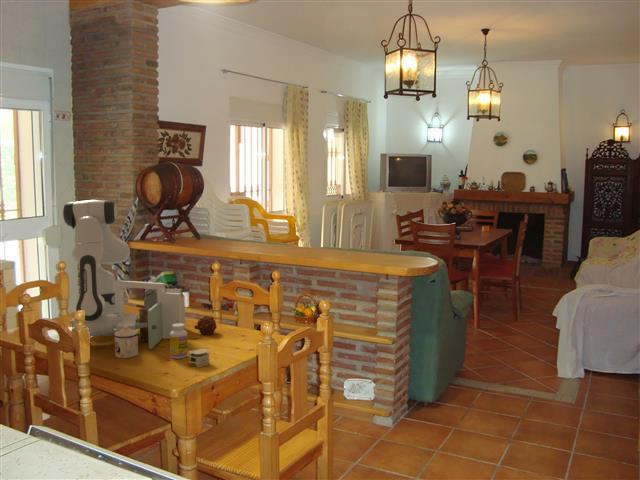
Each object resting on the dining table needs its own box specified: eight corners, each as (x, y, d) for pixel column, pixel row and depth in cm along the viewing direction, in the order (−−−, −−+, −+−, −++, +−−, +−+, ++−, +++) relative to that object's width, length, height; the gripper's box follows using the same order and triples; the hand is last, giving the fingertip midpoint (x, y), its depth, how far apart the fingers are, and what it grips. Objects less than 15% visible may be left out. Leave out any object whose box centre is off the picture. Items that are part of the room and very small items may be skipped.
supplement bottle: (178, 360, 239) (177, 328, 237) (166, 357, 243) (165, 325, 241) (191, 355, 244) (190, 324, 243) (179, 352, 248) (178, 321, 247)
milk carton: (178, 332, 278) (177, 290, 275) (164, 331, 279) (162, 290, 277) (185, 328, 285) (184, 287, 282) (171, 327, 286) (169, 287, 284)
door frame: (116, 334, 275) (114, 281, 272) (119, 332, 277) (117, 280, 274) (179, 340, 266) (178, 285, 263) (182, 338, 268) (181, 284, 265)
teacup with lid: (113, 353, 248) (112, 324, 246) (137, 350, 251) (135, 322, 250) (117, 362, 237) (116, 332, 235) (141, 358, 241) (140, 329, 239)
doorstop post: (137, 339, 263) (136, 310, 261) (144, 336, 267) (143, 307, 266) (148, 340, 261) (147, 310, 260) (154, 337, 266) (153, 308, 264)
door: (155, 349, 252) (154, 310, 250) (148, 348, 252) (147, 310, 250) (166, 337, 268) (164, 301, 265) (159, 337, 268) (158, 301, 266)
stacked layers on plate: (202, 359, 241) (202, 346, 240) (217, 364, 235) (217, 350, 234) (181, 366, 233) (180, 352, 233) (196, 371, 227) (195, 356, 227)
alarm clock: (168, 314, 310) (167, 285, 308) (169, 317, 303) (169, 287, 301) (144, 316, 306) (143, 286, 304) (145, 320, 299) (144, 289, 297)
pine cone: (211, 340, 271) (199, 338, 280) (224, 326, 275) (212, 324, 284) (199, 326, 268) (188, 324, 277) (213, 312, 272) (201, 311, 281)
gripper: (111, 323, 250) (146, 321, 253) (115, 311, 270) (148, 309, 273) (111, 338, 251) (147, 336, 254) (115, 325, 271) (148, 323, 274)
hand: (147, 322), depth 264 cm, fingers closed on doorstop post, 5 cm apart
